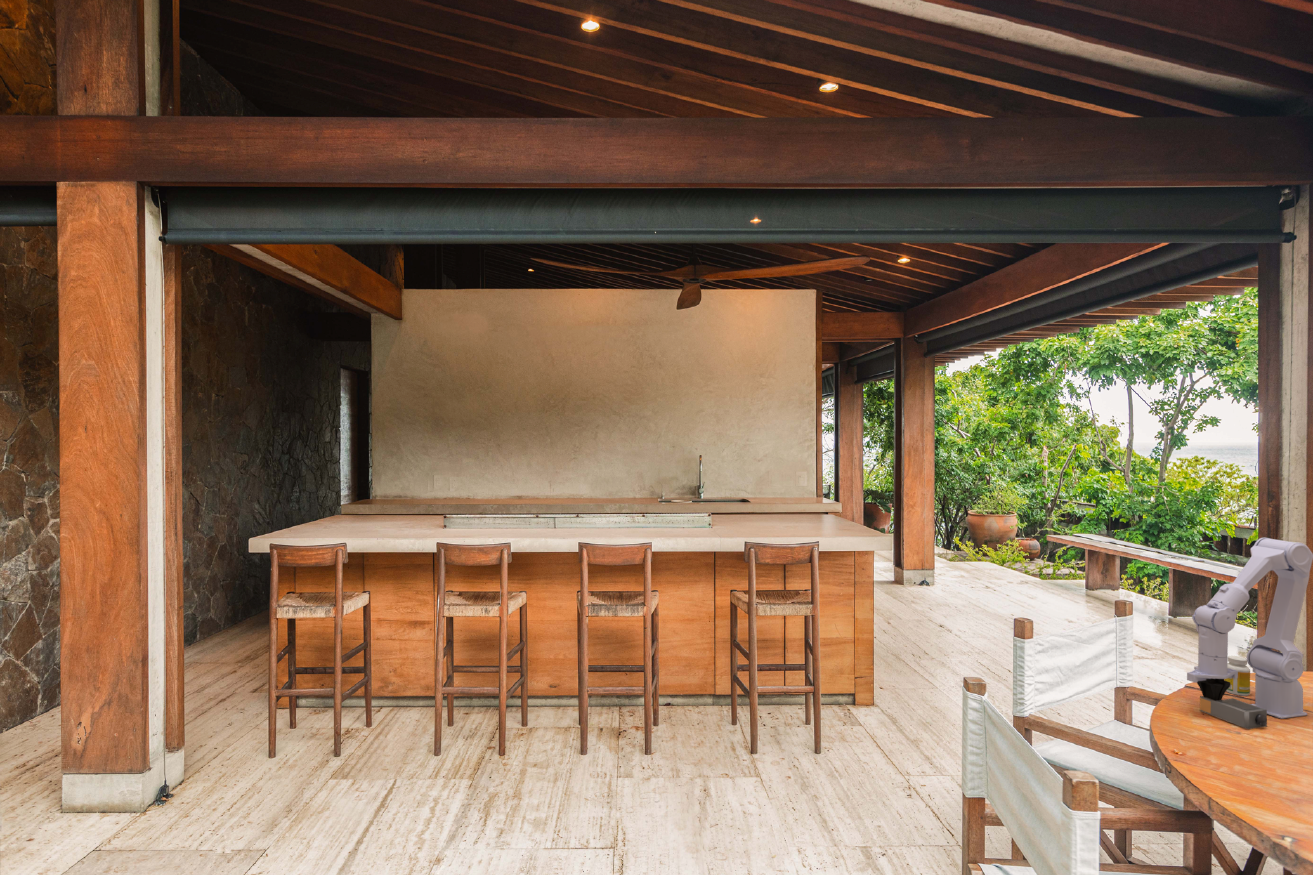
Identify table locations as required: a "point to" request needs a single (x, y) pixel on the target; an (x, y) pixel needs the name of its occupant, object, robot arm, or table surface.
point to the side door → (1224, 712)
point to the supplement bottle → (1239, 676)
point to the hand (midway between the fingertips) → (1212, 707)
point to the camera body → (1255, 713)
